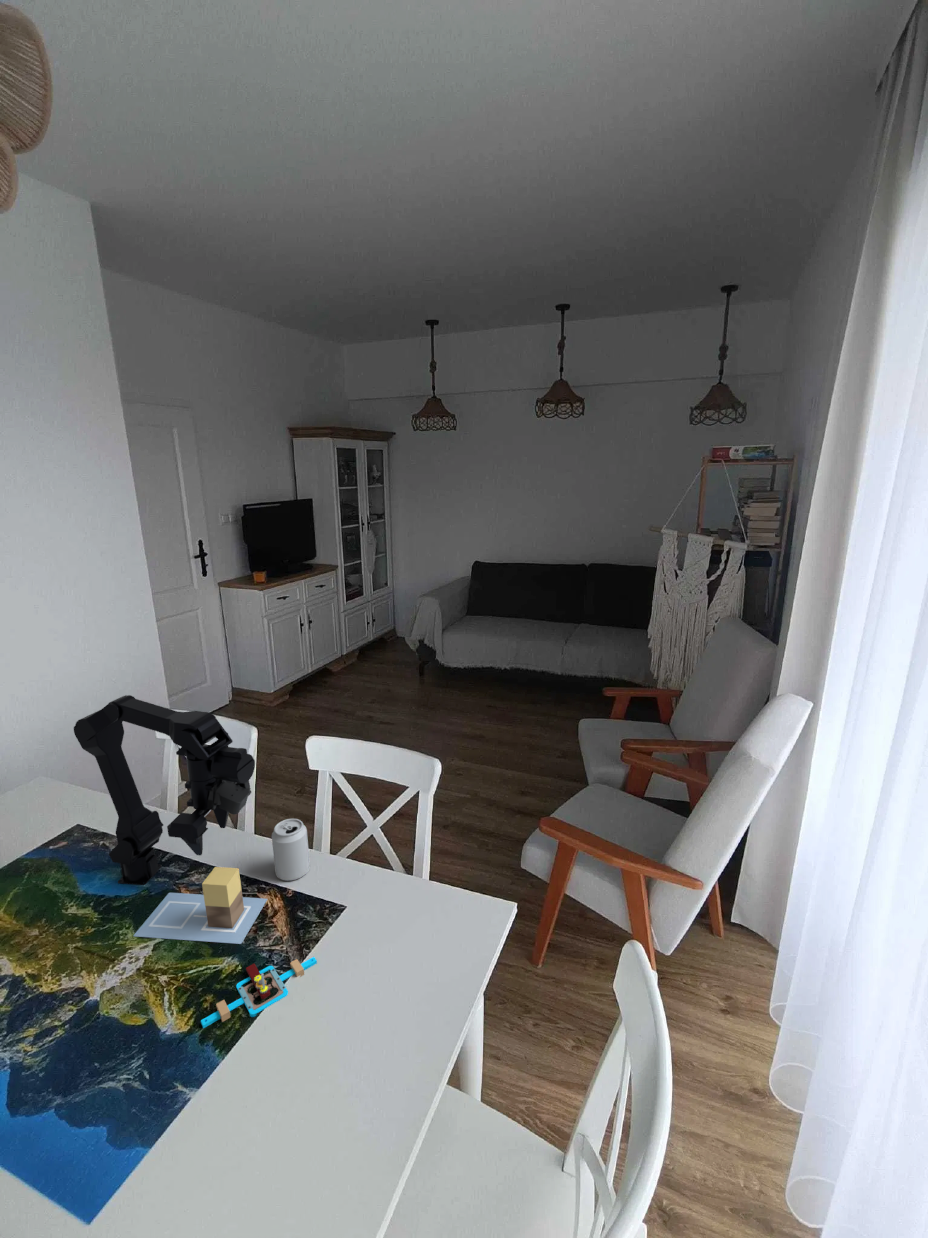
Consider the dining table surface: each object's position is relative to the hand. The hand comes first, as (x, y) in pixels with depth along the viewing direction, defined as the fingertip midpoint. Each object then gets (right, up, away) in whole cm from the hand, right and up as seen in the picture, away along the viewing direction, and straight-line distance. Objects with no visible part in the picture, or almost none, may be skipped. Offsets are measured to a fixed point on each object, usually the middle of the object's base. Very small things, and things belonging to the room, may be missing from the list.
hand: (211, 840), depth 122 cm
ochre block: (+5, -9, -6) cm, 12 cm away
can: (+15, -11, +9) cm, 20 cm away
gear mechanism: (+18, -19, -20) cm, 33 cm away
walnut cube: (+5, -14, -5) cm, 16 cm away
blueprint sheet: (0, -14, -4) cm, 15 cm away
